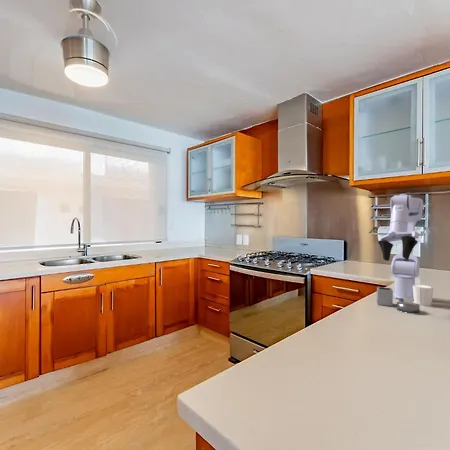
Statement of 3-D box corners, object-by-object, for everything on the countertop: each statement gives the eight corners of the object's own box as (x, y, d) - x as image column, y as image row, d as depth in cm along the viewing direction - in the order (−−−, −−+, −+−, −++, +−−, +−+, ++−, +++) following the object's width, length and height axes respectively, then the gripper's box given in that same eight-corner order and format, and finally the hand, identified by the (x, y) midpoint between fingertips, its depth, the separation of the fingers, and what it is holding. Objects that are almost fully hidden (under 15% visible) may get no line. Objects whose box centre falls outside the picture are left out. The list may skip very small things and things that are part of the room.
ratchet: (393, 302, 117) (393, 290, 117) (413, 304, 115) (413, 291, 115) (398, 312, 105) (398, 298, 105) (421, 314, 102) (421, 300, 102)
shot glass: (423, 307, 112) (424, 288, 112) (408, 302, 118) (408, 284, 118) (437, 305, 113) (438, 287, 113) (421, 301, 120) (421, 284, 120)
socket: (376, 301, 118) (376, 286, 118) (390, 303, 116) (391, 288, 116) (377, 304, 114) (378, 289, 113) (392, 306, 112) (392, 290, 112)
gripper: (374, 224, 115) (370, 257, 111) (410, 216, 102) (407, 253, 98) (387, 230, 117) (383, 263, 113) (423, 223, 104) (421, 260, 100)
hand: (395, 259), depth 105 cm, fingers open, 7 cm apart
